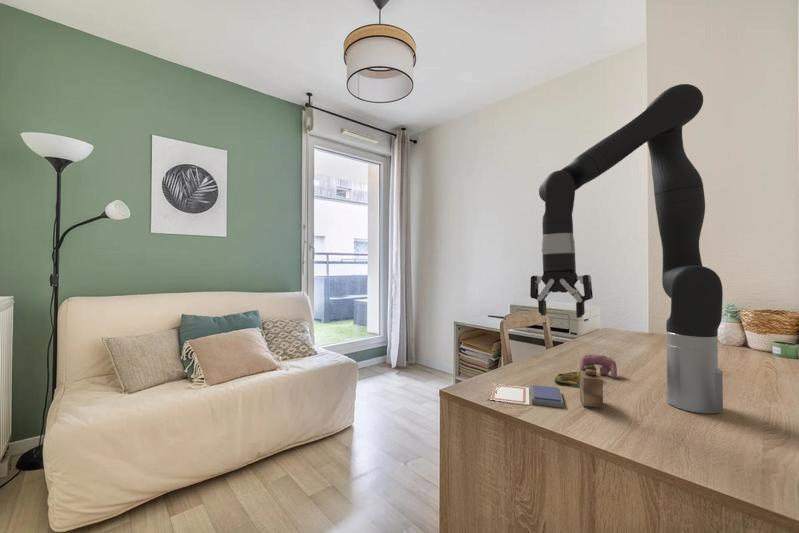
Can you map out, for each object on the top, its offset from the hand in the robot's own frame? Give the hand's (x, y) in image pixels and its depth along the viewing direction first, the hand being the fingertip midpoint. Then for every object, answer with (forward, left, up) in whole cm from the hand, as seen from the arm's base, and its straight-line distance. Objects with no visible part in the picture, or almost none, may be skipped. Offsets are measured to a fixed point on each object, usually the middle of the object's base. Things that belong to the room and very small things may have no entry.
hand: (560, 316), depth 86 cm
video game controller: (-12, -24, -21) cm, 34 cm away
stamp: (-6, +2, -21) cm, 22 cm away
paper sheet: (+13, +2, -21) cm, 24 cm away
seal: (-5, -15, -21) cm, 27 cm away
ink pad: (+4, +2, -21) cm, 21 cm away
